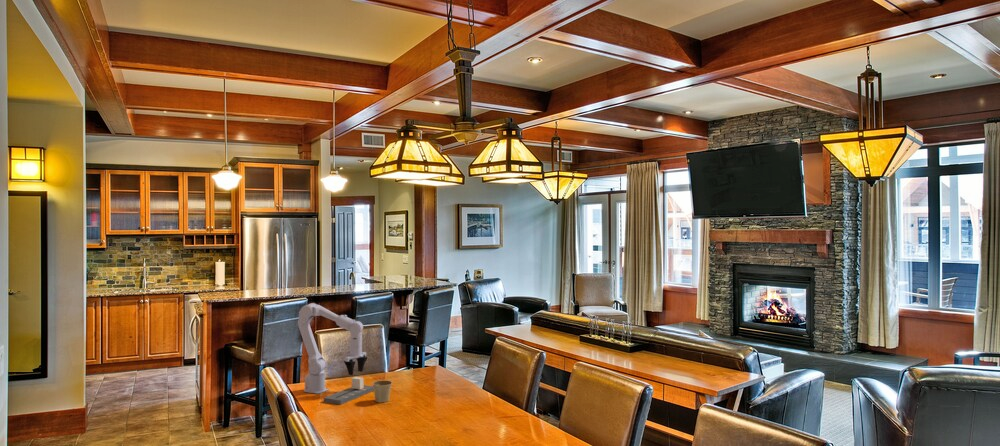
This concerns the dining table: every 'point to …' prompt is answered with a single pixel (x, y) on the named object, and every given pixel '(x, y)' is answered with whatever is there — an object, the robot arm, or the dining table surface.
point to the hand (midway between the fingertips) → (355, 373)
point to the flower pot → (382, 390)
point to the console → (347, 395)
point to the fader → (357, 383)
